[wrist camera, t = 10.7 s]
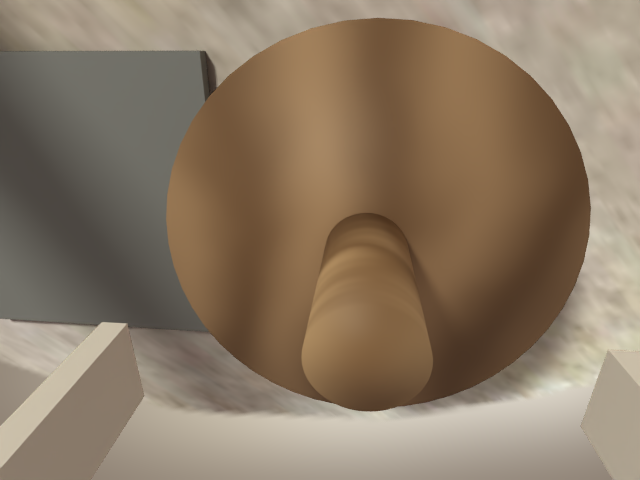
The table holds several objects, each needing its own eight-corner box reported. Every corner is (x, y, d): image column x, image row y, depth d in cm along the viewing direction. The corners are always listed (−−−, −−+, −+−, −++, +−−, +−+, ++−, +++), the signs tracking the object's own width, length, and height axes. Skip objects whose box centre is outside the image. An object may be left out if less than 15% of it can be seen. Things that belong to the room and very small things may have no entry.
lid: (199, 381, 26) (120, 532, 17) (144, 22, 18) (-49, -12, 9) (530, 407, 24) (618, 589, 16) (637, 17, 16) (933, -31, 8)
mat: (3, 312, 38) (-6, 318, 37) (-93, 52, 29) (-108, 51, 28) (233, 326, 36) (229, 333, 35) (205, 51, 27) (199, 50, 26)
